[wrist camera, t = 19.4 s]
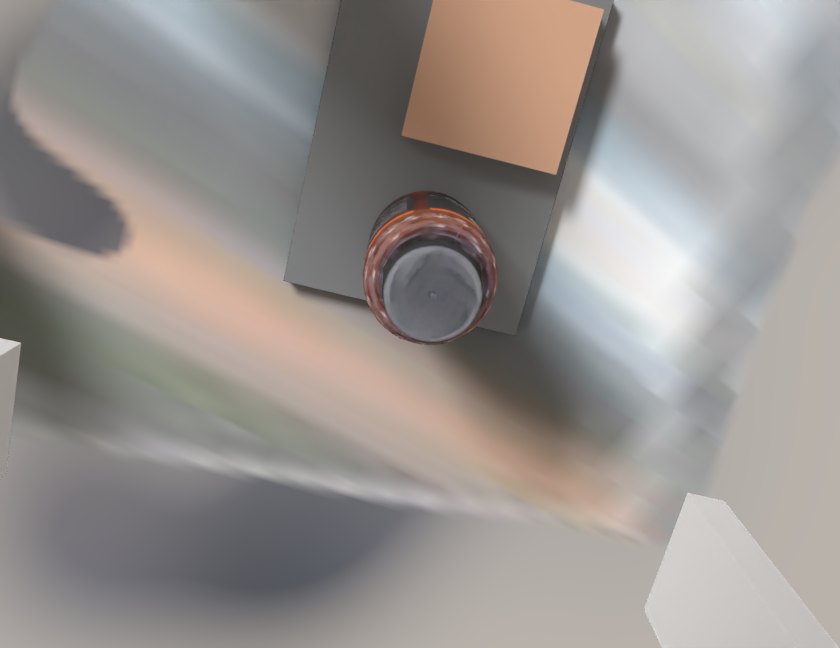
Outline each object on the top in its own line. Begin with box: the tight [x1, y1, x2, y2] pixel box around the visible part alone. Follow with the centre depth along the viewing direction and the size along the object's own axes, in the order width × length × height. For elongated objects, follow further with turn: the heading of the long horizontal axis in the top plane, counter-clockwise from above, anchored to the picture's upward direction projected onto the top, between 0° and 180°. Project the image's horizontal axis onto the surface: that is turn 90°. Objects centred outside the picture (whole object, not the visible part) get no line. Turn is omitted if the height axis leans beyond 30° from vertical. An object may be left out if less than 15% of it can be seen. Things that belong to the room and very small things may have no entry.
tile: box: [401, 0, 604, 175], centre depth 39 cm, size 8×2×8 cm
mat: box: [283, 0, 614, 336], centre depth 41 cm, size 18×13×1 cm
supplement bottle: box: [363, 191, 498, 345], centre depth 37 cm, size 6×6×11 cm
